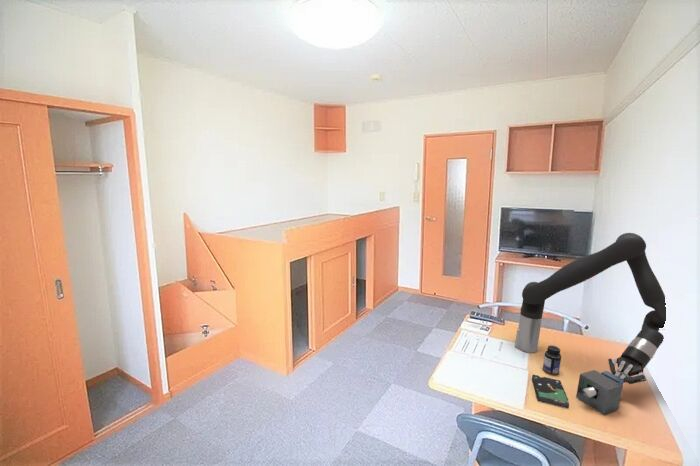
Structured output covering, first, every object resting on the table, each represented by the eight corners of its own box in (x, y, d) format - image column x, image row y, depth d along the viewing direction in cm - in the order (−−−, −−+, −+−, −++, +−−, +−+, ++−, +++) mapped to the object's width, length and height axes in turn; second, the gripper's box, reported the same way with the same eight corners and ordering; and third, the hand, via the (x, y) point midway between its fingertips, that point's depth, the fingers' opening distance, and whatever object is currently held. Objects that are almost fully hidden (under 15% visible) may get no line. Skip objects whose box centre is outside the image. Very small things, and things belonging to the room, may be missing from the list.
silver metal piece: (602, 391, 128) (606, 370, 126) (619, 401, 122) (623, 380, 121) (576, 400, 123) (579, 378, 121) (592, 410, 117) (596, 388, 115)
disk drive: (530, 380, 137) (537, 402, 123) (531, 374, 136) (538, 395, 122) (559, 386, 133) (569, 409, 119) (560, 379, 133) (570, 403, 119)
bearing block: (590, 392, 129) (594, 369, 127) (618, 410, 119) (623, 385, 117) (576, 397, 126) (580, 373, 124) (603, 415, 117) (608, 390, 115)
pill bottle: (557, 369, 143) (561, 346, 141) (559, 377, 138) (563, 353, 136) (541, 365, 146) (545, 343, 144) (543, 373, 140) (546, 349, 138)
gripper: (617, 338, 131) (592, 372, 129) (657, 356, 119) (630, 393, 117) (623, 348, 134) (598, 381, 132) (663, 366, 122) (636, 403, 120)
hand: (613, 387), depth 125 cm, fingers closed
